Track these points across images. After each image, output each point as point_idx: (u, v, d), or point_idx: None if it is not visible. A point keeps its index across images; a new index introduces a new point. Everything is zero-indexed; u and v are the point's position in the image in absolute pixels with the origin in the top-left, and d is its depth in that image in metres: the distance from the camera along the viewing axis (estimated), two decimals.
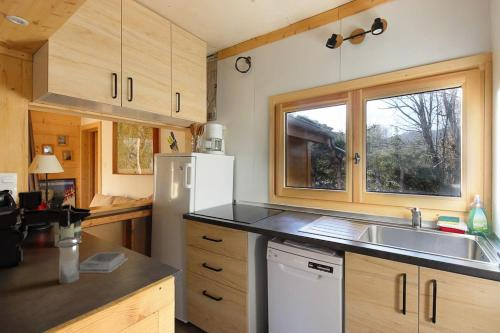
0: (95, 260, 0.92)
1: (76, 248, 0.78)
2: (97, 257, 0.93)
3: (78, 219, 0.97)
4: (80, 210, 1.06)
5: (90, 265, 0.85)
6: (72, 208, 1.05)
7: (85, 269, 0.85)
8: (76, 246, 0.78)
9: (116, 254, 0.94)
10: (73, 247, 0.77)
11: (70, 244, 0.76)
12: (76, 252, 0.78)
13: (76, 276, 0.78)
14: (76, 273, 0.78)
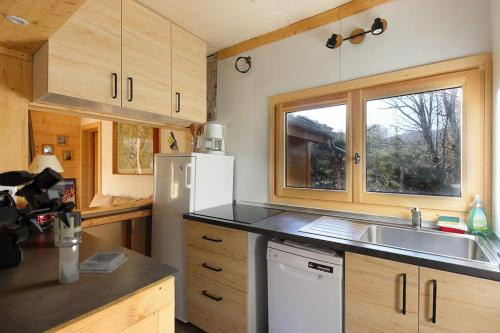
0: (95, 260, 0.92)
1: (76, 248, 0.78)
2: (97, 257, 0.93)
3: (29, 227, 0.83)
4: (66, 218, 0.92)
5: (90, 265, 0.85)
6: (64, 211, 0.93)
7: (85, 269, 0.85)
8: (76, 246, 0.78)
9: (116, 254, 0.94)
10: (73, 247, 0.77)
11: (70, 244, 0.76)
12: (76, 252, 0.78)
13: (76, 276, 0.78)
14: (76, 273, 0.78)
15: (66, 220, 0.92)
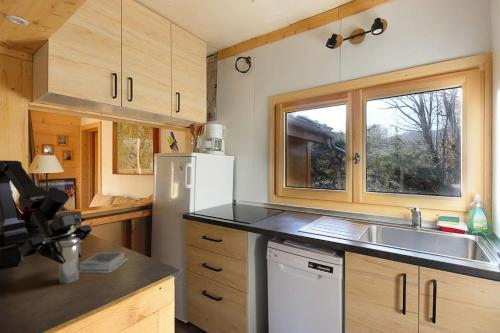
0: (95, 260, 0.92)
1: (76, 248, 0.78)
2: (97, 257, 0.93)
3: (49, 256, 0.75)
4: None
5: (90, 265, 0.85)
6: None
7: (85, 269, 0.85)
8: (76, 246, 0.78)
9: (116, 254, 0.94)
10: (73, 247, 0.77)
11: (70, 244, 0.76)
12: (76, 252, 0.78)
13: (76, 276, 0.78)
14: (76, 273, 0.78)
15: None
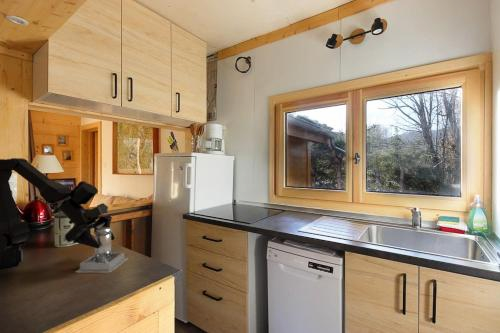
0: None
1: (110, 236, 0.90)
2: None
3: (85, 243, 0.84)
4: None
5: (90, 265, 0.85)
6: (105, 224, 0.94)
7: (85, 269, 0.85)
8: (110, 234, 0.90)
9: (116, 254, 0.94)
10: (109, 235, 0.89)
11: (108, 232, 0.88)
12: (110, 239, 0.90)
13: (110, 260, 0.90)
14: (110, 257, 0.90)
15: None
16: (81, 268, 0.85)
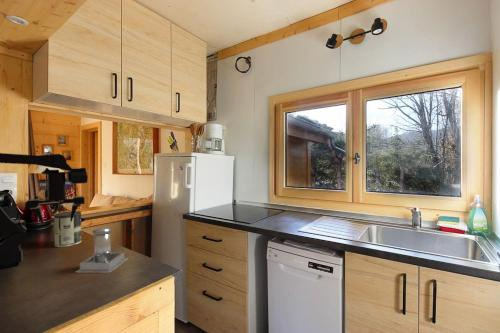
0: None
1: (109, 236, 0.90)
2: None
3: None
4: (42, 215, 0.98)
5: (90, 265, 0.85)
6: (41, 208, 0.99)
7: (85, 269, 0.85)
8: (109, 234, 0.90)
9: (116, 254, 0.94)
10: (108, 235, 0.89)
11: (107, 232, 0.88)
12: None
13: (110, 260, 0.90)
14: (110, 257, 0.90)
15: (42, 217, 0.98)
16: (81, 268, 0.85)
